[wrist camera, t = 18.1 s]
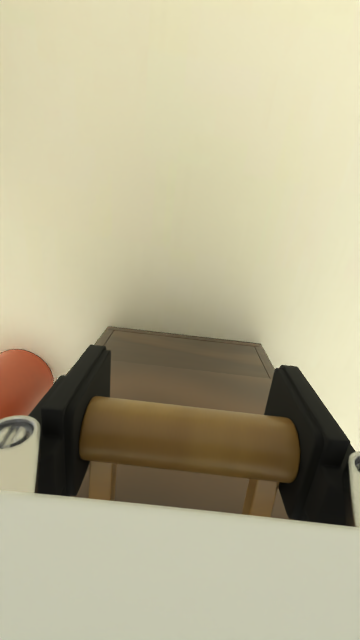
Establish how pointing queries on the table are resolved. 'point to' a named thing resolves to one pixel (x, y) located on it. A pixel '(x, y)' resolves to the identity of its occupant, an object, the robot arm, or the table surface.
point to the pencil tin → (22, 382)
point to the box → (187, 352)
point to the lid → (187, 442)
